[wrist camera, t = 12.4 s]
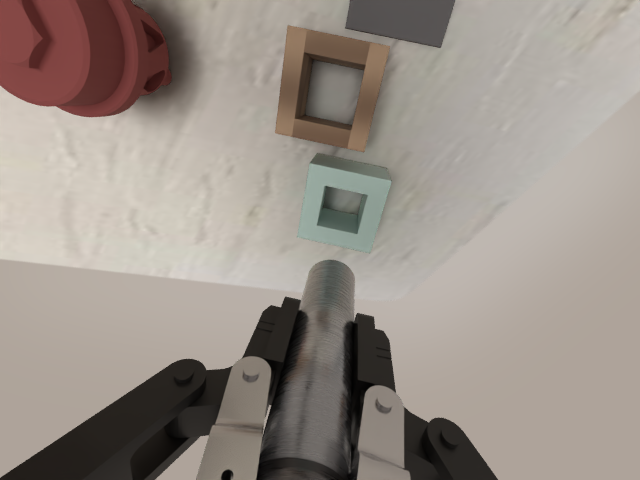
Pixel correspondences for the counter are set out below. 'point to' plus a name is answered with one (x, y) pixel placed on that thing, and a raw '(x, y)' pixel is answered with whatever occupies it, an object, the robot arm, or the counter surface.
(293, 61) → the wooden square frame
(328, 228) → the teal block
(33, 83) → the mechanical component
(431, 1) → the mat
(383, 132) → the counter surface
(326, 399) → the cylinder
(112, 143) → the counter surface
